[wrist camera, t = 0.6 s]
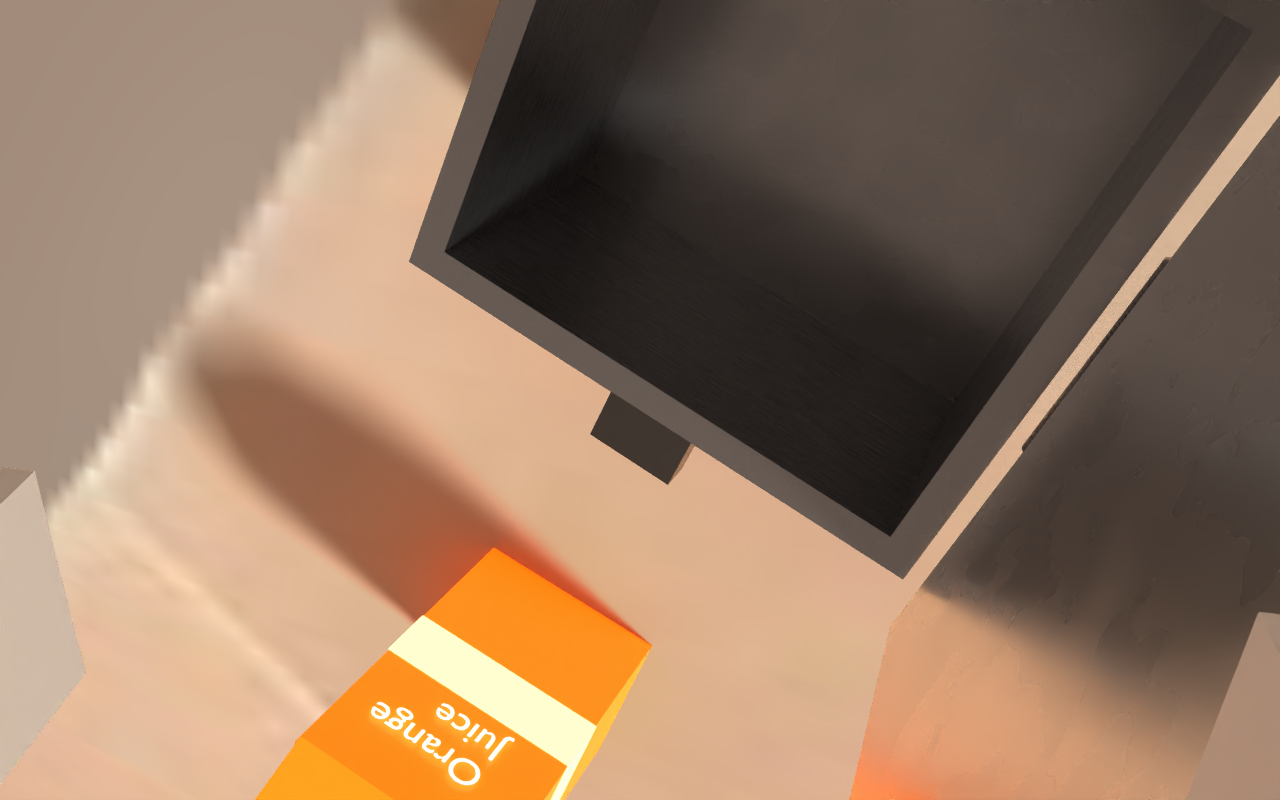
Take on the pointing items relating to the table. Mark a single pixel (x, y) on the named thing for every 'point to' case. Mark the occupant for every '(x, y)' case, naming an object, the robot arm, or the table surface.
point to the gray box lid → (1109, 551)
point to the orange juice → (473, 700)
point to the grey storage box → (831, 219)
